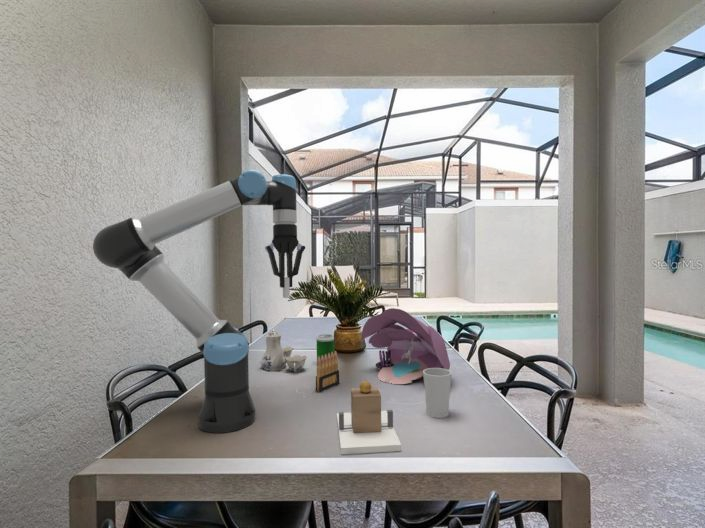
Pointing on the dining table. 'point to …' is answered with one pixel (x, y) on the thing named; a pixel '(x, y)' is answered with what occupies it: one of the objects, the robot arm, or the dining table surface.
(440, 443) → the dining table surface
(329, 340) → the soda can
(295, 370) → the chinaware
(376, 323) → the flower arrangement
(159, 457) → the dining table surface
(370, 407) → the block
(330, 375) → the ammunition clip
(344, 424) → the stand
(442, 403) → the cup
